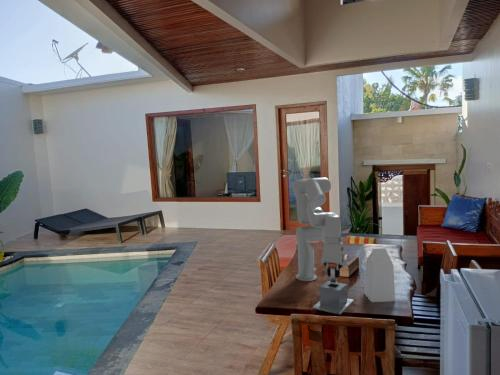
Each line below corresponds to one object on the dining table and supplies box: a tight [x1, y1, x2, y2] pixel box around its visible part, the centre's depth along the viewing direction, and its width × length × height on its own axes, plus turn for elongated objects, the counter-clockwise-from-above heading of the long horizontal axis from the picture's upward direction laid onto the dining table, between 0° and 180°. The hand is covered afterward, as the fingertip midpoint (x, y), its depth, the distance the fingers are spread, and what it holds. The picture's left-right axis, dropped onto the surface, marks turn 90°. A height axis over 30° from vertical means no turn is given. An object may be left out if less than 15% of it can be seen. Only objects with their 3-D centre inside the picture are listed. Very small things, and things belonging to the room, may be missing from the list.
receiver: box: [312, 280, 355, 316], centre depth 194 cm, size 18×14×10 cm
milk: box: [363, 247, 396, 303], centre depth 201 cm, size 12×12×26 cm
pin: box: [327, 263, 338, 283], centre depth 193 cm, size 6×6×10 cm
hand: (333, 276), depth 193 cm, fingers closed on pin, 3 cm apart
